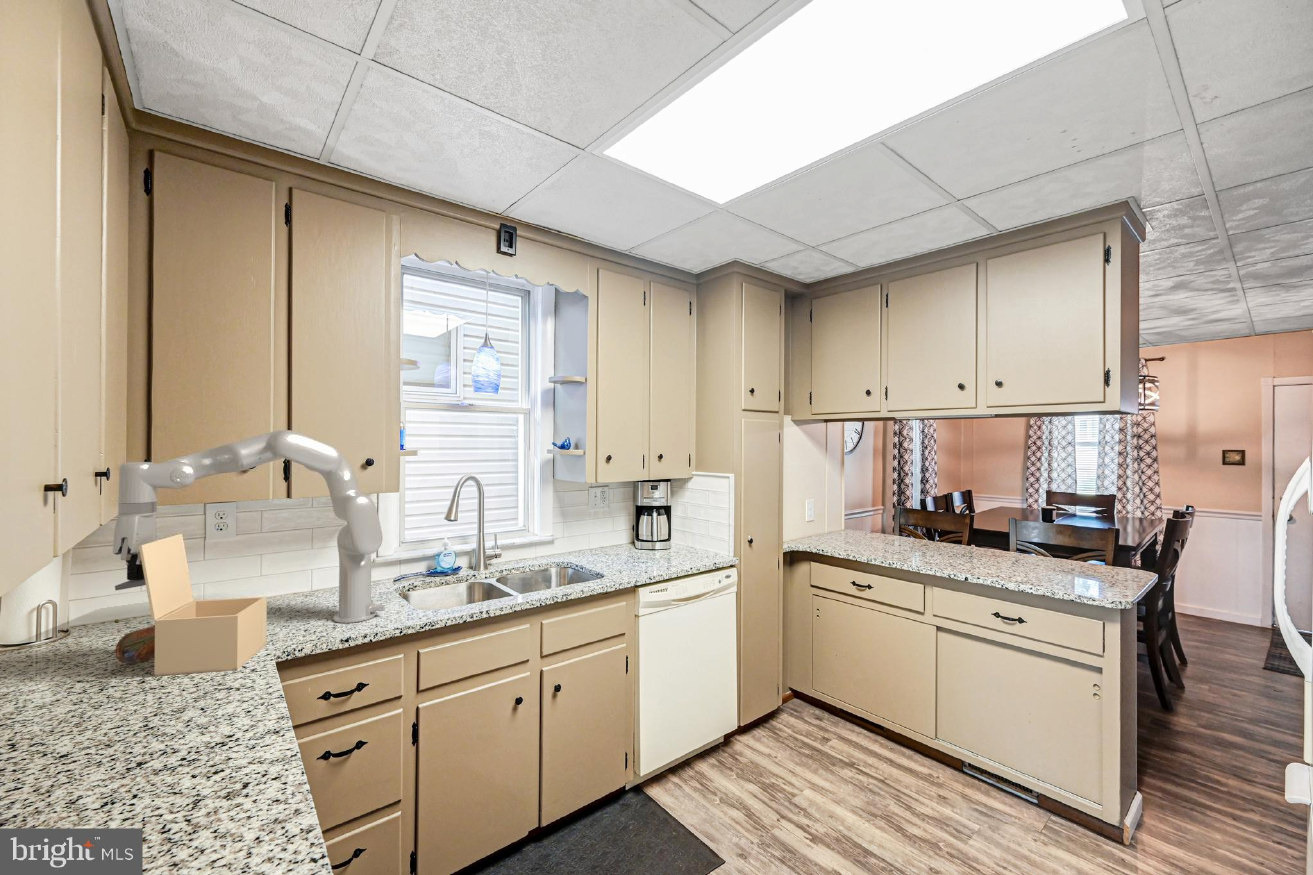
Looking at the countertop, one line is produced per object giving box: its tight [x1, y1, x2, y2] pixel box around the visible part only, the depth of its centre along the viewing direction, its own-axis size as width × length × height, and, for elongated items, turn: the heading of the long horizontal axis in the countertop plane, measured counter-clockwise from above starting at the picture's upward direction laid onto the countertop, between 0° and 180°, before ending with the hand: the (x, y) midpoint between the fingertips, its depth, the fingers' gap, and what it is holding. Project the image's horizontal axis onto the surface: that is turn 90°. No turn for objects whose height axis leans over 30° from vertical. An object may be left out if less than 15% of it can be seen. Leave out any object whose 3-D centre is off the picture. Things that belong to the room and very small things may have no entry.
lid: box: [114, 533, 195, 621], centre depth 149 cm, size 19×18×10 cm
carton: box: [153, 596, 268, 677], centre depth 153 cm, size 18×18×14 cm
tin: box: [115, 624, 155, 665], centre depth 154 cm, size 15×3×8 cm, turn 168°
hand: (136, 579), depth 149 cm, fingers closed
